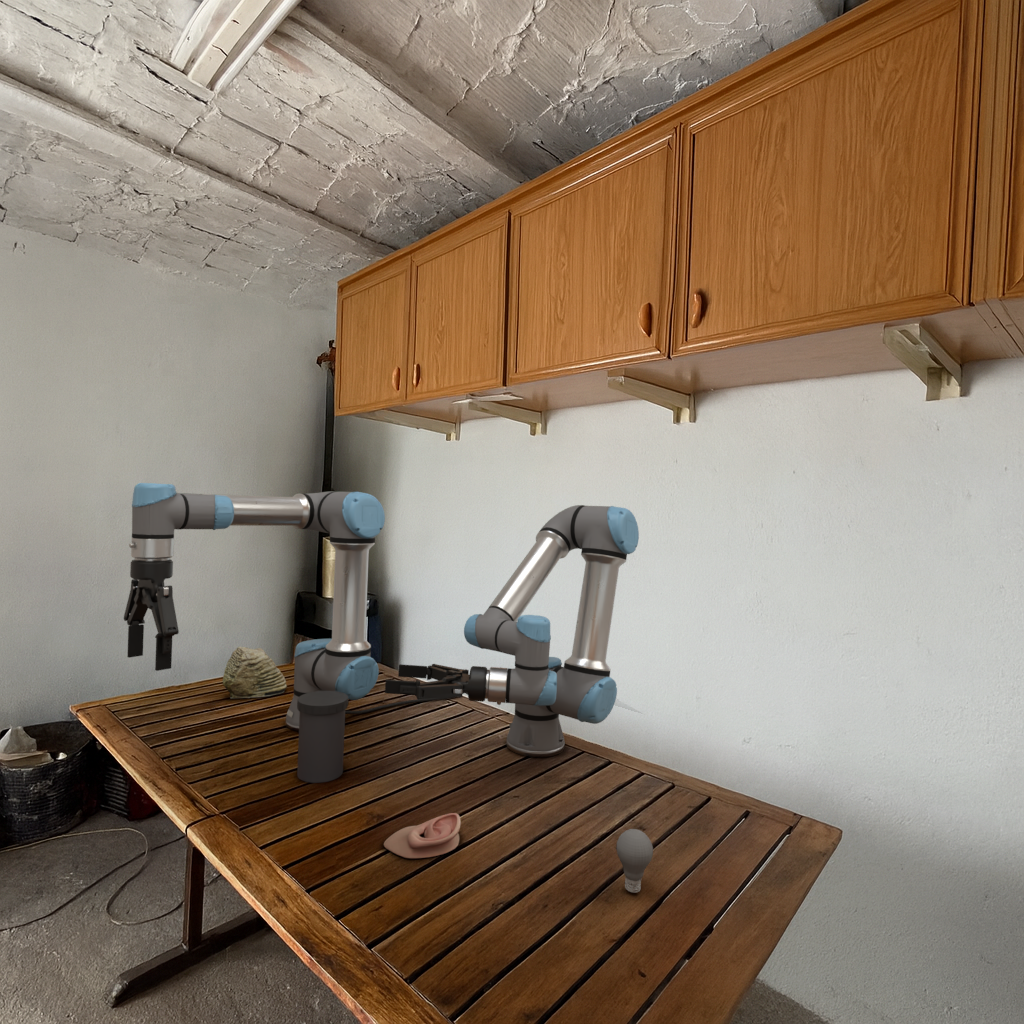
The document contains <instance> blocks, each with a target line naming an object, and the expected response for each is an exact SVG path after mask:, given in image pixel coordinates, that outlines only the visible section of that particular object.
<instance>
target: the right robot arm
mask: <svg viewBox="0 0 1024 1024" xmlns="http://www.w3.org/2000/svg"><path fill="white" fill-rule="evenodd" d="M639 532H640V531H639V525H638V521H637V519H636V516H635V514H634V513H633V512H632V511H631V510H630V509H628V508H626V507H621V506H620V507H619V506H614V505H610V506H609V505H608V506H607V505H584V504H577V505H576V504H575V505H572V506H569V507H567V508H564V509H563V510H561V511H559V512H557V513H556V514H555V515H553V516H552V517H551V518H550V519H549V520H547V522H545V524H544V525H542V527H541V528H540V529H539V531H538V532H537V534H536V535H535V543H534V544H533V546H532V547H531V548H530V550H529V551H528V552H527V554H526V555H525V556H524V558H523V559H522V561H521V562H520V563H519V564H518V566H517V568H516V569H515V570H514V572H513V573H512V574H511V576H510V577H509V579H508V580H507V581H506V583H505V584H504V585H503V587H502V588H501V590H500V591H499V592H498V594H497V595H496V596H495V597H494V600H493V601H492V602H491V603H490V604H489V606H488V608H487V609H486V610H485V612H484V613H483V614H482V613H475V614H472V615H470V616H469V617H468V618H467V620H466V621H465V623H464V627H463V635H464V639H465V641H466V642H467V643H468V644H469V645H471V646H474V647H476V648H479V649H482V650H489V651H494V652H498V653H502V654H505V655H509V656H514V666H515V667H514V668H509V667H498V666H497V667H496V666H491V667H489V669H488V668H487V666H478V665H472V666H471V667H470V668H469V669H467V668H463V669H462V668H456V667H453V666H447V665H442V664H436V663H432V664H431V665H428V666H427V665H417V664H415V665H414V664H402V663H401V664H399V665H398V674H397V676H398V677H399V678H414V679H415V678H416V680H413V681H412V680H401V679H400V680H399V679H386V680H385V683H384V684H385V686H384V694H389V695H391V694H392V695H404V696H405V695H406V696H407V695H408V696H415V697H416V699H429V698H443V697H456V698H462V697H463V695H464V694H463V692H468V695H467V698H468V701H470V702H485V701H486V700H487V702H488V703H496V705H498V706H500V705H502V704H514V716H513V719H512V721H511V722H509V729H508V731H507V732H508V733H507V735H506V745H505V746H506V747H507V749H508V750H510V751H512V752H513V753H515V754H518V755H521V756H525V757H530V758H547V757H548V758H549V757H553V756H558V755H559V754H561V753H562V752H563V751H564V750H565V746H566V745H565V736H564V733H563V729H562V724H561V721H560V716H563V717H568V718H571V719H574V720H578V721H579V722H580V723H588V724H593V725H597V724H600V723H602V722H604V721H605V720H606V719H607V718H608V716H610V714H611V712H612V710H613V709H614V706H615V703H616V700H617V696H618V695H617V694H618V687H617V682H616V681H615V679H613V678H612V677H611V668H610V666H609V665H608V663H607V661H606V660H607V655H608V649H609V648H608V647H609V640H610V634H611V627H612V626H611V625H612V620H613V613H614V607H615V598H616V592H617V584H618V579H619V578H618V577H619V571H620V568H621V566H623V565H624V564H625V563H626V562H627V557H628V555H631V554H633V553H635V551H636V548H637V547H638V545H639V538H640V537H639V536H640V535H639V534H640V533H639ZM577 549H578V550H581V553H580V556H581V557H582V558H583V560H584V562H585V565H584V572H583V577H582V585H581V592H580V598H579V604H578V612H577V617H576V622H575V630H574V638H573V644H572V651H571V655H570V656H569V657H568V658H566V659H565V660H564V663H562V659H561V658H559V657H556V656H550V650H551V649H550V648H551V639H552V636H551V621H550V619H549V618H548V617H546V616H543V615H537V614H523V613H524V611H525V610H526V609H527V607H528V606H529V604H530V603H531V601H532V600H533V599H534V597H535V595H536V594H537V593H538V591H539V590H540V588H541V587H542V585H543V584H544V582H545V581H546V580H547V578H548V577H549V576H550V574H551V572H552V571H553V569H554V568H555V566H556V565H557V563H559V560H560V559H565V558H566V557H567V556H568V554H569V553H570V552H571V551H573V550H577ZM562 665H563V666H562ZM418 679H426V680H427V681H426V682H424V681H423V682H421V681H420V680H418ZM431 680H432V681H431Z"/></svg>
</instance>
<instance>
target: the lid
mask: <svg viewBox="0 0 1024 1024" xmlns="http://www.w3.org/2000/svg"><path fill="white" fill-rule="evenodd" d="M348 707H349V699H348V696H347V695H346V694H345V693H342V692H338V691H315V692H310V693H306V694H303V695H301V696H300V697H298V702H297V709H298V711H300V712H302V713H305V714H310V715H328V714H334V713H338V712H341V711H343V710H345V711H346V710H347V708H348Z"/></svg>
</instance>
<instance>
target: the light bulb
mask: <svg viewBox="0 0 1024 1024" xmlns="http://www.w3.org/2000/svg"><path fill="white" fill-rule="evenodd" d="M615 849H616V854H617V857H618V859H619V861H620V863H621V865H622V867H623V873H624V874H623V875H624V876H625V878H624V888H625V890H627V891H628V892H630V893H634V894H635V893H639V892H640V891H641V889H642V887H641V886H642V879H643V877H644V875H645V871H646V868H647V867H648V866H649V864H650V863H651V861H652V859H653V855H654V847H653V843H652V841H651V838H649V836H648V835H647V834H646V833H645V832H643V831H642V830H641V829H636V828H629V829H627V830H625V831H623V832H622V833H621V834H620V835H619V837H618V839H617V841H616V847H615Z"/></svg>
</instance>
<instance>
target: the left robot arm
mask: <svg viewBox="0 0 1024 1024" xmlns="http://www.w3.org/2000/svg"><path fill="white" fill-rule="evenodd" d="M385 515H386V513H385V511H384V508H383V505H382V503H381V502H380V501H379V500H378V498H377V497H375V495H373V494H370V493H367V492H363V491H362V492H361V491H337V490H336V491H335V490H333V491H332V490H330V491H321V492H311V493H295V494H294V495H293V496H276V495H275V496H274V495H273V496H272V495H248V494H247V495H246V494H244V495H243V494H220V493H219V494H218V493H217V494H216V493H215V494H214V493H189V492H187V493H186V492H177V491H176V486H175V485H174V484H173V483H152V482H139V483H137V484H136V485H135V486H134V488H133V492H132V501H131V520H132V521H131V542H130V543H128V547H129V548H130V549H131V550H130V556H131V558H133V559H132V560H131V561H130V567H129V568H130V571H129V574H130V575H129V576H130V578H131V581H130V590H129V594H128V598H127V603H126V607H125V610H124V615H123V621H124V622H126V624H127V626H128V629H127V630H128V631H127V658H135V657H142V656H144V635H145V634H144V630H145V625H144V624H145V623H146V621H145V619H144V618H145V616H146V615H147V612H148V609H149V610H151V613H152V618H153V620H154V624H155V627H156V631H157V633H156V635H155V636H154V638H155V661H154V663H155V665H154V668H155V669H154V670H155V671H157V672H159V671H164V670H169V669H172V659H173V657H172V655H173V637H175V636H176V635H179V632H180V631H179V625H178V619H177V615H176V614H177V613H176V609H175V603H174V597H173V595H174V593H173V585H165V580H167V579H171V578H172V577H173V575H174V573H173V572H174V561H173V560H172V559H171V558H173V557H174V554H175V553H174V552H175V530H213V531H215V530H224V529H228V528H230V526H233V527H234V526H237V527H238V526H240V527H243V526H246V527H247V526H249V527H250V526H258V527H259V526H268V527H269V526H276V527H277V526H282V527H284V526H285V527H286V526H287V527H288V526H289V527H290V526H291V527H293V528H294V529H296V530H308V531H309V530H310V531H316V532H319V533H325V534H329V544H330V545H331V546H332V547H333V548H334V550H335V551H334V572H333V573H334V577H333V599H332V625H331V626H332V627H331V638H317V639H308V640H304V641H300V642H299V643H297V645H296V646H295V650H294V655H293V657H294V672H293V673H294V674H293V695H292V696H293V697H292V699H291V702H290V704H289V708H288V709H287V713H286V715H285V726H286V728H287V729H289V730H291V731H294V732H295V731H296V732H299V715H300V711H298V709H297V702H298V697H300V696H301V695H303V694H306V693H310V692H315V691H338V692H342V693H345V694H346V695H347V696H348V701H349V700H350V701H357V700H360V699H362V698H364V697H365V696H367V695H368V694H370V692H371V690H372V689H374V687H375V685H376V683H377V682H378V678H379V674H380V672H379V671H380V670H379V669H380V668H379V665H378V663H377V662H376V660H375V659H374V657H371V652H372V649H371V648H372V644H371V643H370V642H368V640H367V639H366V631H367V607H368V606H367V605H368V604H367V602H368V582H369V581H368V579H369V555H370V553H369V552H370V550H371V548H372V547H374V545H375V544H376V536H378V535H379V534H380V533H381V530H383V528H384V526H385V522H386V521H385V520H386V516H385ZM464 694H466V695H467V696H468V692H463V694H462V695H464ZM455 698H457V697H443V698H429V699H417V698H416V699H408V700H402V701H397V702H392V703H389V704H388V703H387V704H382V705H379V706H375V707H371V708H367V709H362V710H345V715H362V714H367V713H371V712H375V711H378V710H383V709H387V708H392V707H396V706H400V705H408V704H413V703H421V702H424V703H425V702H430V701H431V702H432V701H441V700H450V699H455Z"/></svg>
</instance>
